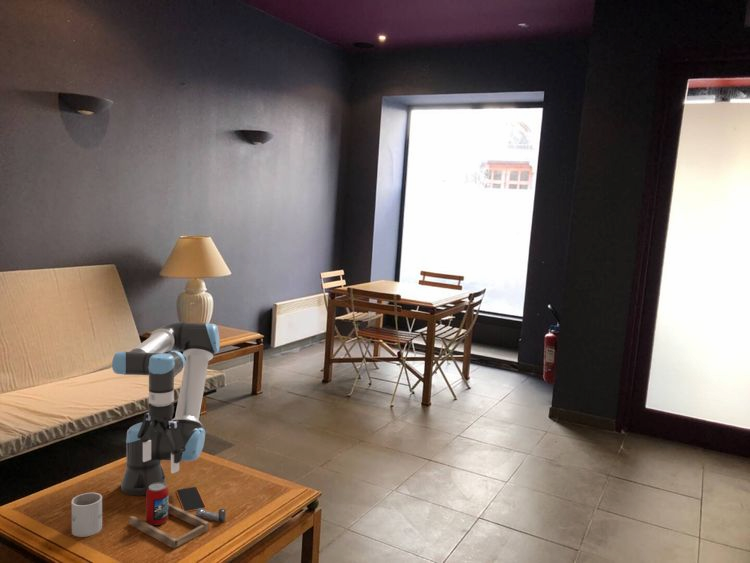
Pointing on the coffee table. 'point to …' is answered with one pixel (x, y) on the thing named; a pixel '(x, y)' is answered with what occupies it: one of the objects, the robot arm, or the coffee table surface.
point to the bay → (166, 538)
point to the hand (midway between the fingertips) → (160, 466)
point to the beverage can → (157, 503)
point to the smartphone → (190, 499)
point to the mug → (86, 514)
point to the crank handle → (211, 514)
